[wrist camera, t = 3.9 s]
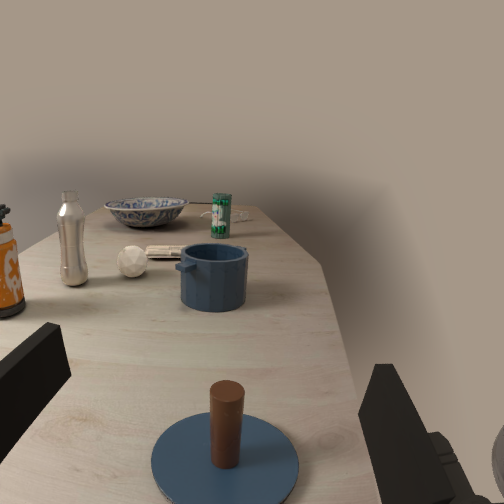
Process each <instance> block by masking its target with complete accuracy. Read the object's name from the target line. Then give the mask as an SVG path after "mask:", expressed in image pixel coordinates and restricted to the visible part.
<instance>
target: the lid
mask: <svg viewBox="0 0 504 504" xmlns="http://www.w3.org/2000/svg"><path fill="white" fill-rule="evenodd" d="M244 395H245V390H244V388H243V387H242V385H240V384H239V383H237V382H234V381H230V380H223V381H218V382H216V383H214V384H213V385H212V386H211V388H210V412H208V413H202V414H197V415H193V416H190V417H188V418H185V419H183V420H181V421H178V422H177V423H175V424H173V425H172V426H171V427H169V428H168V429H167V430H166V431H165V432H164V433H163V434H162V435H161V436H160V437H159V439H158V440H157V442H156V444H155V446H154V448H153V452H152V457H151V467H152V472H153V475H154V479H155V481H156V483H157V485H158V487H159V488H160V490H161V491H162V493H163V494H164V495H165V496H166V497H167V498H168V499H169V500H170V501H171V502H172V503H174V504H280V503H281V502H283V501H284V500H285V499H286V497H287V496H288V495H289V494H290V492H291V491H292V489H293V487H294V485H295V483H296V480H297V476H298V472H299V462H298V457H297V454H296V451H295V449H294V447H293V445H292V443H291V442H290V441H289V439H288V438H287V437H286V436H285V435H284V434H283V433H282V432H281V431H280V430H278V429H277V428H276V427H274V426H273V425H271V424H269V423H267V422H265V421H263V420H261V419H258V418H256V417H253V416H249V415H245V414H243V408H244Z"/></svg>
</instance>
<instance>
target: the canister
mask: <svg viewBox="0 0 504 504" xmlns="http://www.w3.org/2000/svg"><path fill="white" fill-rule="evenodd" d="M9 212H10V208H8V207H7V208H6V207H5V204H1V205H0V317H7V316H11V315H13V314H15V313H17V312H18V311H20V310H21V309H23V308H24V306H25V298H24V293H23V287H22V281H21V275H20V268H19V261H18V253H17V245H16V240H14V239H13V232H12V228H11V226H10V224H8V223H2V219H3V218H5V214H8V213H9Z"/></svg>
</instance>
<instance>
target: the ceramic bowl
mask: <svg viewBox="0 0 504 504" xmlns="http://www.w3.org/2000/svg"><path fill="white" fill-rule="evenodd" d="M188 204H189V202H188V201H187V200H184V199H180V198H169V197H146V198H145V197H144V198H130V199H122V200H116V201H112V202H109V203H106V204H105V205H104V207H105V208H107V209H110V211H111V213H112V215H113V216H114V217H115V218H116V219H117V220H118V221H119V222H121V223H123V224H125V225H129V226H135V227H151V226H158V225H163V224H166V223H169V222H171V221H172V220H174V219H175V218H176V217H177V216H178V215H179V214H180V213H181V211H182V209H183V207H184V206H186V205H188Z"/></svg>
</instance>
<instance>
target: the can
mask: <svg viewBox="0 0 504 504" xmlns="http://www.w3.org/2000/svg"><path fill="white" fill-rule="evenodd" d="M231 196H232V195H231V194H222V193H219V194H218V193H216V194H213V208H212V230H211V237H213V238H218V239H225V238H229V231H230V213H231Z"/></svg>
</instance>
